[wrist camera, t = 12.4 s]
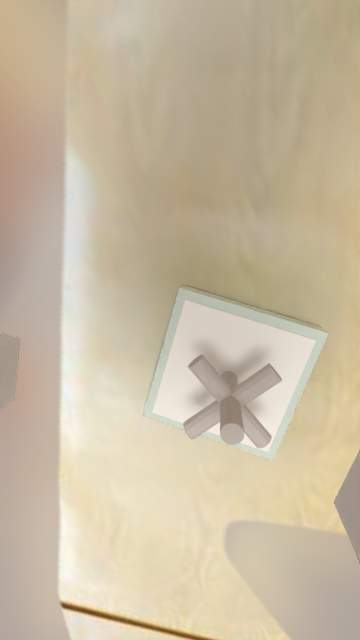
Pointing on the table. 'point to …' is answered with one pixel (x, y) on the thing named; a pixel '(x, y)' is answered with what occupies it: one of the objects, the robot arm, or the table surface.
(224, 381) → the pipe connector
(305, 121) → the table surface
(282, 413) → the stand
